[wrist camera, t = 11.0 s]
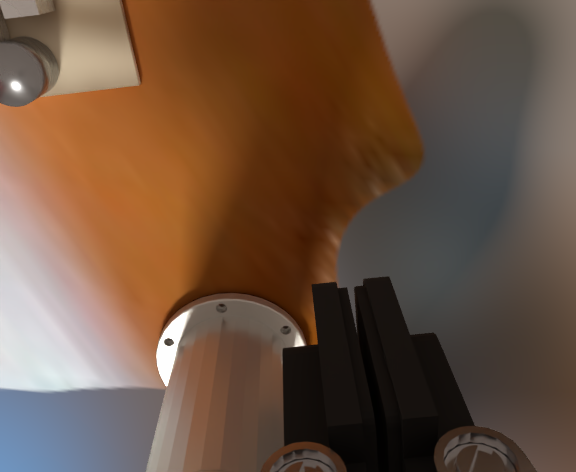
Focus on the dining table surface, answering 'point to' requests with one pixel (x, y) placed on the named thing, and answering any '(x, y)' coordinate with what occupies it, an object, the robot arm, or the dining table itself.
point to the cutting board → (83, 44)
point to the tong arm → (24, 68)
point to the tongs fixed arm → (25, 7)
